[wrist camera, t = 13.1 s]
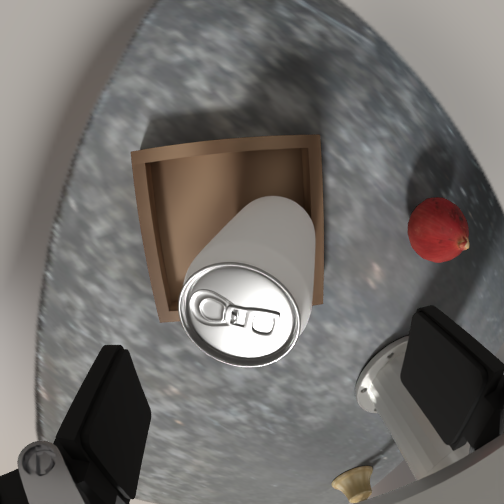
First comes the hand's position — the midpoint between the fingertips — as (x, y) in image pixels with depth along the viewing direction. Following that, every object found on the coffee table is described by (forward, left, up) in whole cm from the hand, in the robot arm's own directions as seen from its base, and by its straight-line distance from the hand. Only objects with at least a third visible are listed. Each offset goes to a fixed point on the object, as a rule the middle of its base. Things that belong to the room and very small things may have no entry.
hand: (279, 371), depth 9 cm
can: (-3, 0, -16) cm, 16 cm away
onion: (-17, 0, -18) cm, 25 cm away
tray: (+1, -1, -17) cm, 17 cm away
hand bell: (-16, +48, -18) cm, 54 cm away
